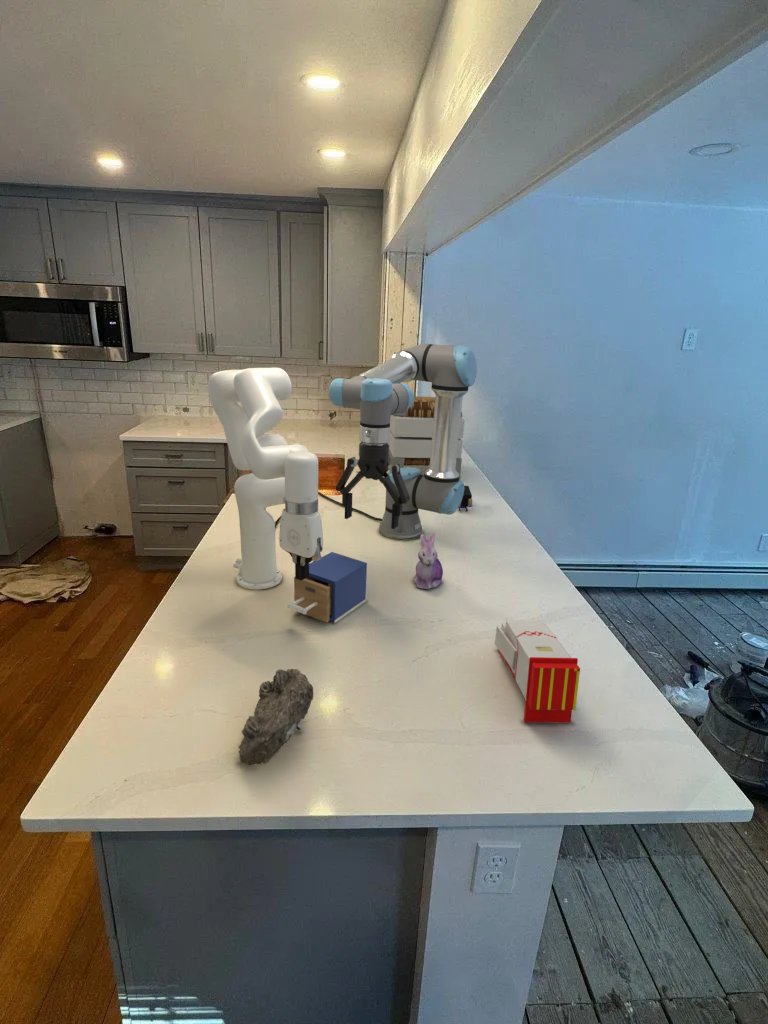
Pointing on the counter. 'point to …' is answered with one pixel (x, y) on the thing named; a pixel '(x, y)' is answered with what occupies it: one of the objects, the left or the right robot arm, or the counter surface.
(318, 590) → the drawer
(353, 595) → the cabinet
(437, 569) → the figurine
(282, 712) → the fossil
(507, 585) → the counter surface
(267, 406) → the left robot arm
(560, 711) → the toy
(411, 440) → the grey wooden crate
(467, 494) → the figurine character
